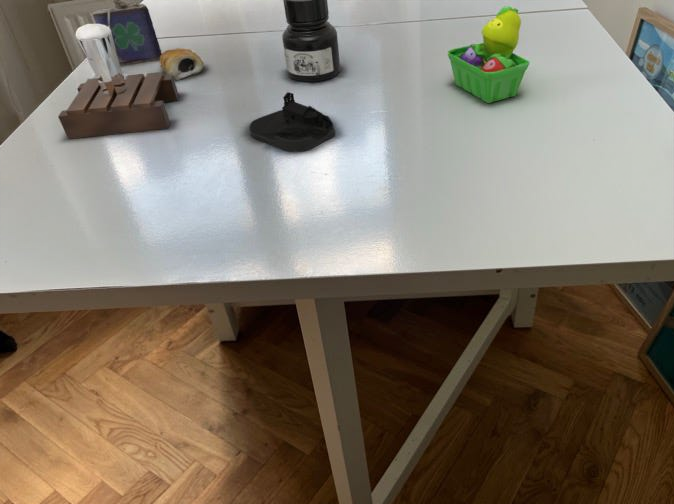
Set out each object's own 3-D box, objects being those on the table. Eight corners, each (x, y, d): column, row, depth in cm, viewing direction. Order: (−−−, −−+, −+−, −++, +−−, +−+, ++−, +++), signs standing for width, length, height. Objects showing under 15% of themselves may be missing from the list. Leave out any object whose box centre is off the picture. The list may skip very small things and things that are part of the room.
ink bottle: (277, 80, 92) (263, 2, 84) (298, 61, 98) (287, -14, 90) (331, 85, 89) (323, 4, 81) (350, 65, 95) (343, -12, 87)
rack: (68, 139, 79) (55, 112, 76) (89, 104, 88) (78, 79, 85) (168, 128, 80) (159, 101, 77) (179, 95, 89) (171, 70, 86)
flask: (110, 67, 100) (87, 2, 93) (111, 61, 102) (88, -2, 95) (163, 59, 102) (144, -5, 95) (162, 54, 104) (143, -9, 97)
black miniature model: (239, 132, 78) (231, 98, 75) (291, 107, 83) (285, 74, 80) (297, 156, 72) (291, 120, 68) (349, 128, 77) (346, 93, 74)
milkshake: (142, 87, 81) (117, 14, 75) (108, 99, 78) (79, 25, 72) (126, 80, 84) (101, 9, 77) (93, 92, 81) (63, 19, 74)
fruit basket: (443, 83, 88) (445, 6, 80) (489, 71, 90) (496, -4, 83) (485, 109, 80) (492, 26, 72) (534, 95, 83) (546, 14, 75)
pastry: (153, 67, 99) (146, 45, 96) (189, 58, 102) (183, 36, 99) (172, 82, 93) (165, 59, 91) (210, 72, 96) (204, 49, 93)
